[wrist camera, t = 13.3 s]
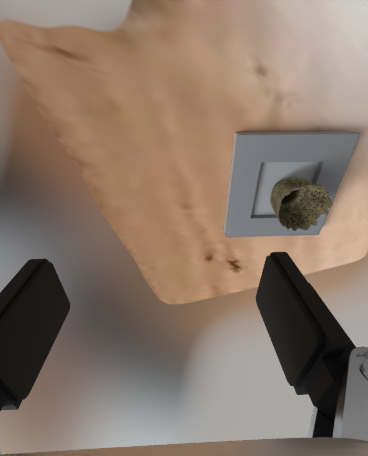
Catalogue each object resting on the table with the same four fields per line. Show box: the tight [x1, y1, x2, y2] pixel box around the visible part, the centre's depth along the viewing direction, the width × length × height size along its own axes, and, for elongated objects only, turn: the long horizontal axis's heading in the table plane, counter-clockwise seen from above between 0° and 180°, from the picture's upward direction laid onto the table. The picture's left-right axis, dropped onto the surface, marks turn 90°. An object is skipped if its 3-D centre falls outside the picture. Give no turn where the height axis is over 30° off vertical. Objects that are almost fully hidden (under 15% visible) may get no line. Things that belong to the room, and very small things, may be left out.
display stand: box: [224, 131, 360, 237], centre depth 37 cm, size 18×18×2 cm
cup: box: [270, 177, 332, 231], centre depth 33 cm, size 8×7×8 cm
